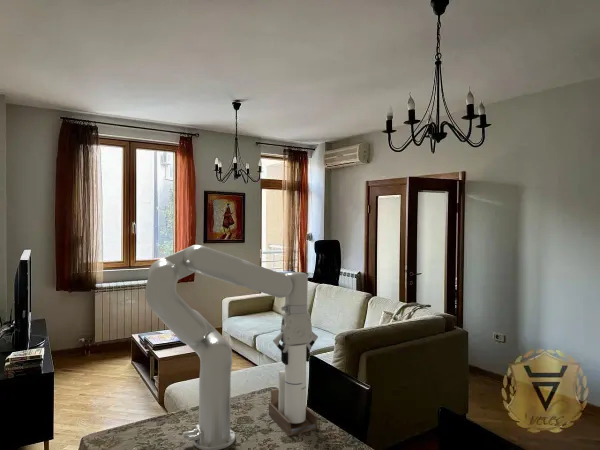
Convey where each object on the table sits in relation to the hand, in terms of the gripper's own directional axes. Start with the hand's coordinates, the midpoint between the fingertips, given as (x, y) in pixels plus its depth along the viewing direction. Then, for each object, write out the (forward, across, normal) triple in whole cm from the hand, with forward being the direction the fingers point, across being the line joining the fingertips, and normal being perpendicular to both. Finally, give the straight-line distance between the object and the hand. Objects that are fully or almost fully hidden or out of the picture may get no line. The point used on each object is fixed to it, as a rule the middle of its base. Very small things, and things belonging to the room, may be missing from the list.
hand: (295, 361), depth 134 cm
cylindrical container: (+19, 0, 0) cm, 19 cm away
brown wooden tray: (+21, 0, +3) cm, 21 cm away
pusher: (+20, 0, +4) cm, 20 cm away
